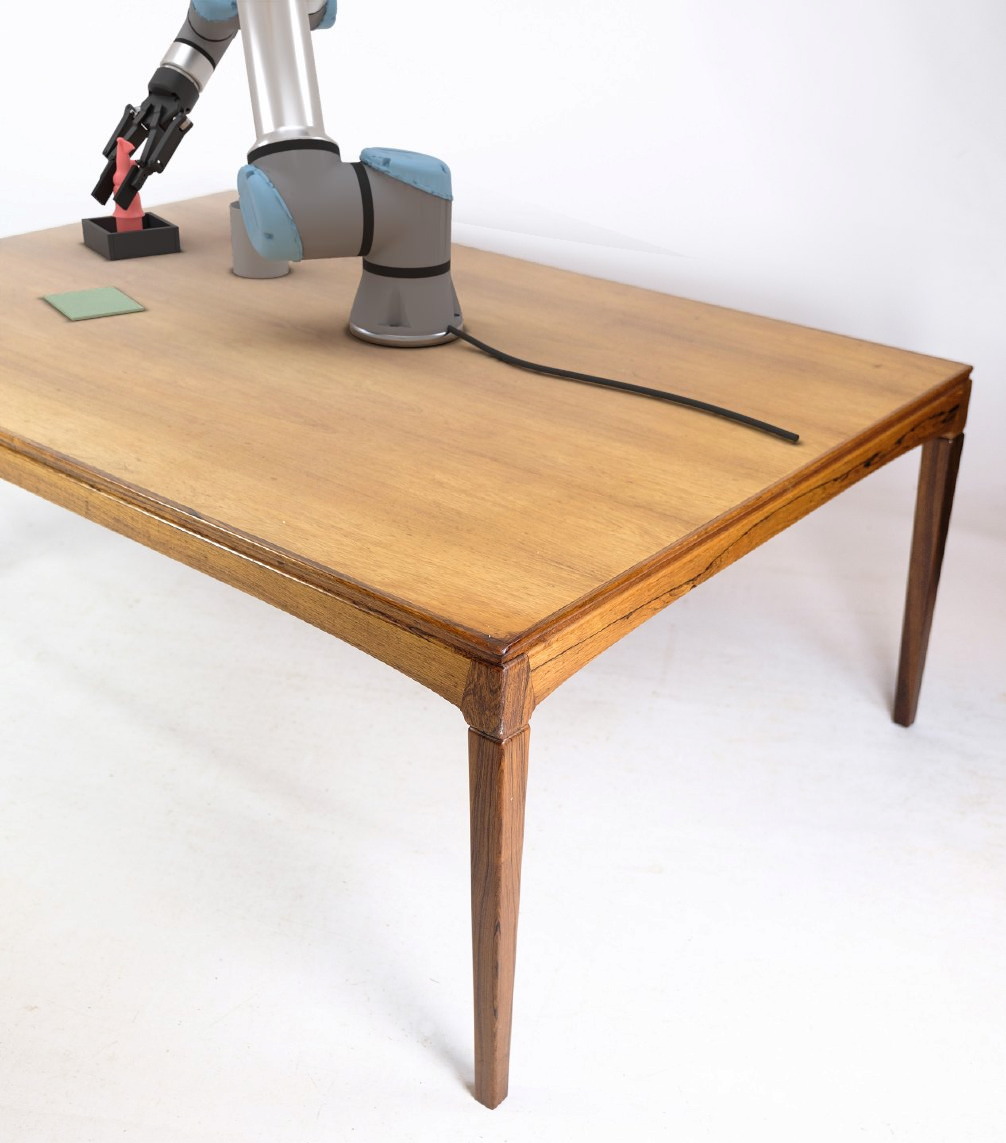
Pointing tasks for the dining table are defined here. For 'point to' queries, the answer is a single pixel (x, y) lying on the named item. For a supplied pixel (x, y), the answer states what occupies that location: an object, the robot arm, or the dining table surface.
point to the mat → (93, 303)
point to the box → (131, 237)
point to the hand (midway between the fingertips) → (108, 202)
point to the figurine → (134, 213)
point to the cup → (250, 251)
